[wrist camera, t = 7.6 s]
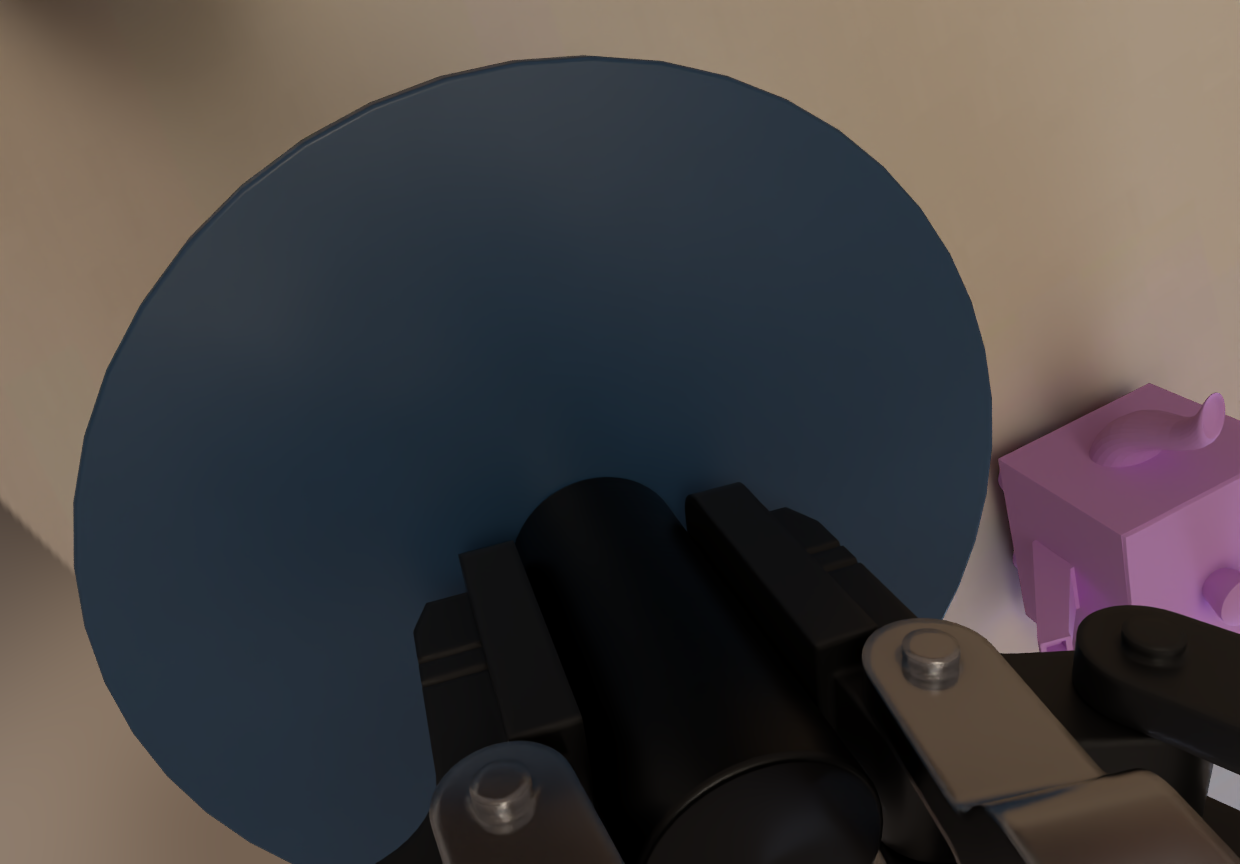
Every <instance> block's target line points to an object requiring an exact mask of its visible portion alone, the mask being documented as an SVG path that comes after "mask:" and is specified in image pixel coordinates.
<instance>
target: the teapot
mask: <svg viewBox="0 0 1240 864" xmlns="http://www.w3.org/2000/svg"><path fill="white" fill-rule="evenodd" d="M998 461H999V467H1000V472H999V476H998V483H999V486H1000V487H1001V489H1002V490H1004V496H1005V501H1006V507H1007V513H1008V518H1009V524H1010V530H1011V535H1012V541H1013V546H1014V553H1013V564H1014V566H1015V567H1016V568H1017V569H1018V574H1019V580H1020V585H1021V591H1022V596H1023V602H1024V607H1025V612H1026V615H1027V616H1028V617H1029V618H1031V619H1032V620H1033V621H1034V622H1036V623H1037V638H1038V645H1039V651H1040V652H1053V651H1070V650H1075V642H1076V633H1077V629H1078V626H1079V624H1080V623H1081V621H1082V620H1083V619H1084V618H1085V617H1087V616H1088V615H1089V614H1091V613H1093V612H1095V611H1097V610H1100V609H1103V608H1107V607H1112V606H1121V605H1141V606H1150V607H1155V608H1160V609H1165V610H1169V611H1172V612H1175V613H1179V614H1182V615H1185V616H1188V617H1191V618H1194V619H1197V620H1199V621H1202V622H1205V623H1208V624H1211V625H1214V626H1217V627H1220V628H1223V629H1226V630H1229V631H1232V632H1235V633H1238V634H1240V421H1239V420H1237V419H1235V418H1232V417H1230V416H1227V415H1225V403H1224V399H1223V397H1222V395H1221V394H1220V393H1213V394H1211V395H1210V396H1209V397H1208V398H1207V399H1206V400H1205V402H1204V403H1203V405H1201V404H1199V403H1196V402H1194V401H1191V400H1189V399H1187V398H1184V397H1182V396H1179V395H1177V394H1175V393H1172V392H1170V391H1167V390H1165V389H1162V388H1160V387H1158V386H1155V385H1153V384H1150V383H1148V384H1146V385H1144V386H1142V387H1140V388H1138V389H1136V390H1134V391H1132V392H1130V393H1128V394H1126V395H1124V396H1122V397H1120V398H1118V399H1116V400H1114V401H1113V402H1111V403H1109V404H1107V405H1105V406H1103V407H1101V408H1099V409H1097V410H1095V411H1093V412H1091V413H1089V414H1087V415H1085V416H1083V417H1081V418H1079V419H1077V420H1075V421H1073V422H1071V423H1069V424H1067V425H1065V426H1063V427H1061V428H1059V429H1057V430H1055V431H1053V432H1051V433H1049V434H1047V435H1045V436H1043V437H1041V438H1039V439H1037V440H1035V441H1033V442H1031V443H1029V444H1027V445H1025V446H1023V447H1021V448H1019V449H1017V450H1015V451H1013V452H1011V453H1009V454H1007V455H1005V456H1003V457H1001V458H999V459H998Z"/></svg>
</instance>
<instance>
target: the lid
mask: <svg viewBox="0 0 1240 864" xmlns="http://www.w3.org/2000/svg"><path fill="white" fill-rule="evenodd" d="M991 452H992V396H991V389H990V382H989V375H988V368H987V360H986V353H985V348H984V344H983V341H982V337H981V334H980V330H979V327H978V323H977V320H976V316H975V313H974V309H973V306H972V302H971V299H970V297H969V295H968V293H967V291H966V288H965V286H964V284H963V282H962V279H961V277H960V275H959V273H958V271H957V268H956V266H955V264H954V262H953V259H952V257H951V255H950V253H949V252H948V250H947V248H946V247H945V245H944V244H943V242H942V241H941V239H940V238H939V236H938V234H937V233H936V231H935V230H934V228H933V227H932V225H931V224H930V222H929V221H928V219H927V217H926V216H925V214H924V213H923V211H922V210H921V208H920V207H919V206H918V205H917V204H916V202H915V201H914V200H913V199H912V198H911V197H910V196H909V195H908V193H907V192H906V191H905V190H904V189H903V188H902V187H901V186H900V185H899V183H898V182H897V181H896V180H895V179H894V178H893V177H892V176H891V174H890V173H889V172H888V171H887V170H886V169H885V168H884V167H883V166H882V165H881V164H880V163H879V162H877V161H876V160H875V159H874V158H872V157H871V156H870V155H869V154H868V153H866V152H865V151H864V150H863V149H861V148H860V147H859V146H858V145H857V144H855V143H854V142H853V141H852V140H850V139H849V138H848V137H847V136H846V135H844V134H843V133H842V132H841V131H840V130H838V129H836V128H835V127H833V126H831V125H830V124H828V123H826V122H824V121H823V120H821V119H819V118H818V117H816V116H814V115H812V114H811V113H809V112H807V111H806V110H804V109H802V108H801V107H799V106H797V105H795V104H794V103H792V102H790V101H789V100H787V99H784V98H782V97H779V96H777V95H774V94H772V93H769V92H767V91H764V90H762V89H759V88H757V87H754V86H751V85H749V84H746V83H744V82H741V81H739V80H736V79H734V78H731V77H729V76H725V75H721V74H717V73H712V72H708V71H703V70H699V69H694V68H690V67H686V66H681V65H677V64H672V63H668V62H664V61H654V60H640V59H627V58H613V57H600V56H586V55H580V56H566V57H553V58H539V59H525V60H512V61H507V62H503V63H498V64H493V65H489V66H484V67H480V68H475V69H471V70H466V71H461V72H457V73H452V74H448V75H443V76H439V77H437V78H434V79H431V80H429V81H426V82H423V83H421V84H418V85H415V86H413V87H410V88H407V89H404V90H402V91H399V92H396V93H394V94H391V95H388V96H386V97H383V98H380V99H378V100H375V101H372V102H370V103H368V104H366V105H364V106H362V107H361V108H359V109H357V110H355V111H353V112H351V113H350V114H348V115H346V116H344V117H342V118H340V119H339V120H337V121H335V122H333V123H331V124H329V125H328V126H326V127H324V128H322V129H320V130H318V131H317V132H315V133H313V134H311V135H309V136H307V137H306V138H304V139H302V140H301V141H300V142H298V143H297V144H296V145H294V146H293V147H292V148H290V149H289V150H288V151H286V152H285V153H284V154H282V155H281V156H280V157H278V158H277V159H276V160H274V161H273V162H272V163H270V164H269V165H268V166H266V167H265V168H264V169H262V170H261V171H260V172H258V173H257V174H256V175H254V176H253V177H252V178H250V179H249V180H248V181H246V182H245V183H244V184H242V185H241V186H240V187H239V188H238V189H237V190H236V191H235V192H234V193H233V194H232V195H231V196H230V197H229V198H228V199H227V200H226V201H225V202H224V203H223V204H222V205H221V206H220V207H219V208H218V209H217V210H216V211H215V212H214V213H213V214H212V215H211V216H210V217H209V218H208V219H207V220H206V221H205V222H204V223H203V224H202V225H201V226H200V227H199V228H198V229H197V230H196V231H195V232H194V233H193V234H192V235H191V236H190V237H189V239H188V240H187V241H186V243H185V244H184V246H183V247H182V248H181V250H180V251H179V252H178V254H177V255H176V256H175V258H174V259H173V261H172V262H171V263H170V265H169V266H168V267H167V269H166V270H165V271H164V273H163V274H162V275H161V277H160V278H159V280H158V281H157V282H156V284H155V285H154V286H153V288H152V289H151V290H150V292H149V293H148V295H147V296H146V297H145V299H144V300H143V302H142V303H141V305H140V306H139V308H138V310H137V312H136V314H135V316H134V318H133V320H132V322H131V324H130V326H129V328H128V329H127V331H126V333H125V335H124V337H123V339H122V341H121V343H120V345H119V347H118V349H117V351H116V352H115V354H114V356H113V358H112V360H111V362H110V364H109V366H108V368H107V370H106V373H105V376H104V379H103V381H102V384H101V387H100V390H99V393H98V396H97V399H96V402H95V405H94V408H93V411H92V414H91V417H90V420H89V423H88V426H87V429H86V432H85V435H84V440H83V446H82V453H81V459H80V465H79V471H78V477H77V484H76V490H75V496H74V502H73V507H74V570H75V575H76V581H77V587H78V592H79V598H80V603H81V609H82V615H83V621H84V626H85V629H86V632H87V635H88V637H89V640H90V643H91V646H92V648H93V651H94V654H95V657H96V660H97V662H98V665H99V668H100V671H101V673H102V676H103V679H104V682H105V684H106V686H107V687H108V689H109V691H110V693H111V695H112V696H113V698H114V700H115V702H116V704H117V705H118V707H119V709H120V711H121V713H122V714H123V716H124V718H125V720H126V721H127V723H128V725H129V727H130V729H131V730H132V732H133V734H134V735H135V736H136V737H137V739H138V740H139V741H140V742H141V744H142V745H143V746H144V748H145V749H146V750H147V751H148V752H149V754H150V755H151V756H152V758H153V759H154V760H155V761H156V763H157V764H158V765H159V766H160V768H161V769H162V770H163V771H164V773H165V774H166V775H167V776H168V777H169V778H170V779H171V780H172V781H173V782H174V783H175V784H176V785H177V786H178V787H179V788H181V789H182V790H183V791H184V792H185V793H186V794H187V795H188V796H189V797H190V798H191V799H192V800H193V801H195V802H196V803H197V804H198V805H199V806H200V807H201V808H202V809H203V810H204V811H205V812H207V813H208V814H209V815H211V816H212V817H214V818H215V819H216V820H218V821H220V822H221V823H222V824H224V825H225V826H227V827H228V828H230V829H231V830H232V831H234V832H235V833H237V834H238V835H240V836H241V837H243V838H244V839H246V840H247V841H248V842H250V843H252V844H254V845H256V846H258V847H260V848H262V849H264V850H266V851H268V852H270V853H272V854H274V855H276V856H278V857H280V858H282V859H283V860H285V861H288V862H290V863H292V864H375V863H377V862H379V861H380V860H382V859H383V858H385V857H386V856H388V855H389V854H391V853H392V852H393V851H395V850H396V849H397V848H399V847H400V846H401V845H402V844H403V843H404V842H405V841H407V840H408V839H409V838H410V836H411V835H412V834H413V833H414V832H415V831H416V830H417V829H418V827H419V826H420V825H421V823H422V822H423V820H424V819H425V817H426V815H427V814H428V812H429V809H430V802H431V798H432V795H433V793H434V791H435V789H436V773H435V767H434V760H433V754H432V748H431V742H430V735H429V729H428V723H427V716H426V710H425V704H424V697H423V691H422V684H421V679H420V672H419V666H418V665H419V664H418V660H417V653H416V647H415V641H414V635H413V631H414V628H415V626H416V624H417V622H418V620H419V617H420V615H421V613H422V611H423V609H424V606H425V604H426V603H428V602H432V601H436V600H439V599H443V598H447V597H451V596H454V595H458V594H462V593H465V592H466V588H465V583H464V579H463V575H462V570H461V566H460V561H459V557H458V554H461V553H465V552H469V551H473V550H476V549H480V548H484V547H488V546H492V545H496V544H500V543H503V542H507V541H511V540H513V541H514V543H515V545H516V548H517V551H518V553H519V556H520V558H521V561H522V564H523V566H524V569H525V571H526V574H527V576H528V579H529V582H530V584H531V587H532V589H533V592H534V594H535V597H536V600H537V602H538V605H539V607H540V610H541V613H542V615H543V618H544V620H545V623H546V625H547V628H548V631H549V633H550V636H551V638H552V641H553V644H554V646H555V649H556V651H557V654H558V656H559V659H560V662H561V664H562V667H563V669H564V672H565V674H566V677H567V680H568V682H569V685H570V687H571V690H572V693H573V695H574V698H575V700H576V703H577V705H578V708H579V711H580V713H581V716H582V719H583V725H584V730H585V736H586V742H587V747H588V753H589V758H590V764H591V769H592V775H593V781H594V787H593V802H594V808H595V810H596V812H597V814H598V816H599V818H600V819H601V821H602V823H603V825H604V827H605V829H606V830H607V832H608V834H609V836H610V838H611V840H612V841H613V843H614V845H615V847H616V849H617V851H618V852H619V854H620V856H621V858H622V860H623V862H624V863H625V864H873V863H874V861H875V858H876V855H877V853H878V850H879V847H880V843H881V838H882V832H883V812H882V806H881V802H880V798H879V794H878V791H877V789H876V787H875V785H874V783H873V781H872V780H871V779H870V777H869V776H868V775H867V773H866V772H865V771H864V769H863V768H862V767H861V765H860V764H859V763H858V761H857V760H856V759H855V757H854V756H853V755H852V753H851V752H850V750H849V749H848V748H847V746H846V745H845V744H844V742H843V741H842V740H841V738H840V737H839V736H838V734H837V733H836V732H835V730H834V729H833V728H832V726H831V725H830V724H829V722H828V721H827V719H826V718H825V717H824V715H823V714H822V713H821V711H820V710H819V709H818V707H817V706H816V705H815V703H814V702H813V701H812V699H811V698H810V697H809V695H808V694H807V693H806V691H805V690H804V689H803V687H802V686H801V684H800V683H799V682H798V680H797V679H796V678H795V676H794V675H793V674H792V672H791V671H790V670H789V668H788V667H787V666H786V664H785V663H784V662H783V660H782V659H781V658H780V656H779V655H778V653H777V652H776V651H775V649H774V648H773V647H772V645H771V644H770V643H769V641H768V640H767V639H766V637H765V636H764V635H763V633H762V632H761V631H760V629H759V628H758V627H757V625H756V624H755V623H754V621H753V620H752V618H751V617H750V616H749V614H748V613H747V612H746V610H745V609H744V608H743V606H742V605H741V604H740V602H739V601H738V600H737V598H736V597H735V596H734V594H733V593H732V592H731V590H730V589H729V587H728V586H727V585H726V583H725V582H724V581H723V579H722V578H721V577H720V575H719V574H718V573H717V571H716V570H715V569H714V567H713V566H712V565H711V563H710V562H709V561H708V559H707V558H706V556H705V555H704V554H703V552H702V551H701V550H700V548H699V547H698V546H697V544H696V543H695V542H694V540H693V539H692V538H691V536H690V535H689V534H688V532H687V526H686V517H685V500H686V497H687V496H688V495H690V494H694V493H698V492H702V491H705V490H709V489H713V488H717V487H721V486H725V485H729V484H733V483H736V482H741V483H743V484H744V485H745V486H746V487H747V488H748V489H749V490H750V491H751V492H752V494H753V495H754V496H755V497H756V498H757V499H758V500H759V501H760V502H761V503H762V504H763V505H764V506H765V507H766V508H767V509H768V510H769V511H772V510H776V509H780V508H784V507H787V508H790V509H792V510H794V511H797V512H799V513H801V514H803V515H806V516H808V517H810V518H813V519H815V520H817V521H819V522H820V523H821V524H822V525H823V526H824V527H825V528H826V529H827V530H828V531H829V532H830V533H831V534H832V535H833V536H834V537H835V538H836V539H837V540H838V541H839V543H840V546H843V545H844V546H845V547H846V548H847V549H848V550H849V551H850V552H851V553H852V554H853V555H854V556H855V557H856V558H857V562H858V563H862V564H863V565H864V566H865V567H866V568H867V569H868V570H869V571H870V572H871V573H872V574H873V575H874V576H875V577H876V578H878V579H879V580H880V581H881V582H882V583H883V584H884V585H885V586H886V587H887V588H888V589H889V590H890V591H891V592H892V593H893V594H894V595H895V596H896V597H897V598H898V599H899V600H900V601H901V602H902V603H903V604H904V605H905V606H906V607H907V608H908V609H909V610H910V611H912V612H913V613H914V614H915V615H916V616H917V617H918V618H931V619H940V620H943V618H944V616H945V614H946V612H947V610H948V608H949V606H950V604H951V602H952V599H953V597H954V595H955V593H956V591H957V589H958V587H959V585H960V582H961V579H962V576H963V574H964V571H965V568H966V565H967V563H968V560H969V557H970V554H971V552H972V549H973V546H974V543H975V540H976V536H977V532H978V528H979V523H980V519H981V515H982V511H983V507H984V503H985V498H986V494H987V485H988V477H989V469H990V460H991Z"/></svg>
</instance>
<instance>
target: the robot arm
mask: <svg viewBox="0 0 1240 864" xmlns="http://www.w3.org/2000/svg"><path fill="white" fill-rule="evenodd" d="M685 517H686V526H687V532H688V534H689V535H690V536H691V538H692V539H693V540H694V542H695V543H696V544H697V546H698V547H699V548H700V550H701V551H702V552H703V554H704V555H705V556H706V558H707V559H708V561H709V562H710V563H711V565H712V566H713V567H714V569H715V570H716V571H717V573H718V574H719V575H720V577H721V578H722V579H723V581H724V582H725V583H726V585H727V586H728V587H729V589H730V590H731V592H732V593H733V594H734V596H735V597H736V598H737V600H738V601H739V602H740V604H741V605H742V606H743V608H744V609H745V610H746V612H747V613H748V614H749V616H750V617H751V618H752V620H753V621H754V623H755V624H756V625H757V627H758V628H759V629H760V631H761V632H762V633H763V635H764V636H765V637H766V639H767V640H768V641H769V643H770V644H771V645H772V647H773V648H774V649H775V651H776V652H777V653H778V655H779V656H780V658H781V659H782V660H783V662H784V663H785V664H786V666H787V667H788V668H789V670H790V671H791V672H792V674H793V675H794V676H795V678H796V679H797V680H798V682H799V683H800V684H801V686H802V687H803V689H804V690H805V691H806V693H807V694H808V695H809V697H810V698H811V699H812V701H813V702H814V703H815V705H816V706H817V707H818V709H819V710H820V711H821V713H822V714H823V715H824V717H825V718H826V719H827V721H828V722H829V724H830V725H831V726H832V728H833V729H834V730H835V732H836V733H837V734H838V736H839V737H840V738H841V740H842V741H843V742H844V744H845V745H846V746H847V748H848V749H849V750H850V752H851V753H852V755H853V756H854V757H855V759H856V760H857V761H858V763H859V764H860V765H861V767H862V768H863V769H864V771H865V772H866V773H867V775H868V776H869V777H870V779H871V780H872V781H873V783H874V785H875V787H876V789H877V791H878V794H879V798H880V802H881V806H882V812H883V832H882V838H881V843H880V847H879V850H878V853H877V855H876V858H875V861H874V863H873V864H1240V811H1239V810H1237V809H1235V808H1233V807H1230V806H1228V805H1226V804H1224V803H1222V802H1219V801H1217V800H1215V799H1213V798H1211V797H1208V796H1207V793H1208V788H1209V783H1210V778H1211V773H1212V768H1213V764H1216V765H1218V766H1220V767H1223V768H1225V769H1227V770H1230V771H1232V772H1234V773H1237V774H1239V775H1240V634H1238V633H1235V632H1232V631H1229V630H1226V629H1223V628H1220V627H1217V626H1214V625H1211V624H1208V623H1205V622H1202V621H1199V620H1197V619H1194V618H1191V617H1188V616H1185V615H1182V614H1179V613H1175V612H1172V611H1169V610H1165V609H1160V608H1155V607H1150V606H1141V605H1121V606H1112V607H1107V608H1103V609H1100V610H1097V611H1095V612H1093V613H1091V614H1089V615H1088V616H1087V617H1085V618H1084V619H1083V620H1082V621H1081V623H1080V624H1079V626H1078V629H1077V633H1076V642H1075V650H1070V651H1053V652H1035V653H1018V654H1002V653H999V652H998V651H997V650H996V648H995V647H994V646H993V645H992V644H991V643H990V642H989V641H988V640H987V639H986V638H984V637H983V636H981V635H980V634H979V633H977V632H975V631H973V630H971V629H969V628H967V627H965V626H962V625H960V624H957V623H953V622H950V621H946V620H940V619H931V618H918V617H917V616H916V615H915V614H914V613H913V612H912V611H910V610H909V609H908V608H907V607H906V606H905V605H904V604H903V603H902V602H901V601H900V600H899V599H898V598H897V597H896V596H895V595H894V594H893V593H892V592H891V591H890V590H889V589H888V588H887V587H886V586H885V585H884V584H883V583H882V582H881V581H880V580H879V579H878V578H876V577H875V576H874V575H873V574H872V573H871V572H870V571H869V570H868V569H867V568H866V567H865V566H864V565H863V564H862V563H858V562H857V558H856V557H855V556H854V555H853V554H852V553H851V552H850V551H849V550H848V549H847V548H846V547H845V546H844V545H843V546H840V543H839V541H838V540H837V539H836V538H835V537H834V536H833V535H832V534H831V533H830V532H829V531H828V530H827V529H826V528H825V527H824V526H823V525H822V524H821V523H820V522H819V521H817V520H815V519H813V518H810V517H808V516H806V515H803V514H801V513H799V512H797V511H794V510H792V509H790V508H787V507H784V508H780V509H776V510H772V511H769V510H768V509H767V508H766V507H765V506H764V505H763V504H762V503H761V502H760V501H759V500H758V499H757V498H756V497H755V496H754V495H753V494H752V492H751V491H750V490H749V489H748V488H747V487H746V486H745V485H744V484H743V483H741V482H736V483H733V484H729V485H725V486H721V487H717V488H713V489H709V490H705V491H702V492H698V493H694V494H690V495H688V496H687V497H686V500H685ZM458 557H459V561H460V566H461V570H462V575H463V579H464V583H465V588H466V592H465V593H462V594H458V595H454V596H451V597H447V598H443V599H439V600H436V601H432V602H428V603H426V604H425V606H424V609H423V611H422V613H421V615H420V617H419V620H418V622H417V624H416V626H415V628H414V631H413V635H414V641H415V647H416V653H417V660H418V664H419V665H418V666H419V672H420V679H421V684H422V691H423V697H424V704H425V710H426V716H427V723H428V729H429V735H430V742H431V748H432V754H433V760H434V767H435V773H436V789H435V791H434V793H433V795H432V798H431V802H430V809H429V812H428V814H427V815H426V817H425V819H424V820H423V822H422V823H421V825H420V826H419V827H418V829H417V830H416V831H415V832H414V833H413V834H412V835H411V836H410V838H409V839H408V840H407V841H405V842H404V843H403V844H402V845H401V846H400V847H399V848H397V849H396V850H395V851H393V852H392V853H391V854H389V855H388V856H386V857H385V858H383V859H382V860H380V861H379V862H377V863H375V864H625V863H624V862H623V860H622V858H621V856H620V854H619V852H618V851H617V849H616V847H615V845H614V843H613V841H612V840H611V838H610V836H609V834H608V832H607V830H606V829H605V827H604V825H603V823H602V821H601V819H600V818H599V816H598V814H597V812H596V810H595V808H594V802H593V787H594V781H593V775H592V769H591V764H590V758H589V753H588V747H587V742H586V736H585V730H584V725H583V719H582V716H581V713H580V711H579V708H578V705H577V703H576V700H575V698H574V695H573V693H572V690H571V687H570V685H569V682H568V680H567V677H566V674H565V672H564V669H563V667H562V664H561V662H560V659H559V656H558V654H557V651H556V649H555V646H554V644H553V641H552V638H551V636H550V633H549V631H548V628H547V625H546V623H545V620H544V618H543V615H542V613H541V610H540V607H539V605H538V602H537V600H536V597H535V594H534V592H533V589H532V587H531V584H530V582H529V579H528V576H527V574H526V571H525V569H524V566H523V564H522V561H521V558H520V556H519V553H518V551H517V548H516V545H515V543H514V541H513V540H511V541H507V542H503V543H500V544H496V545H492V546H488V547H484V548H480V549H476V550H473V551H469V552H465V553H461V554H458Z"/></svg>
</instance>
